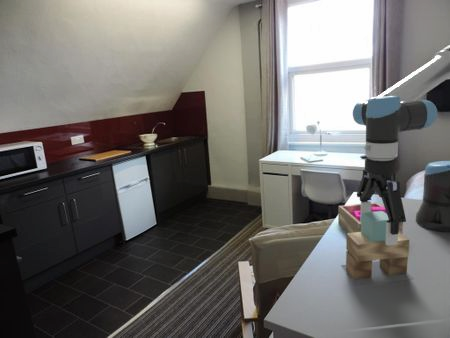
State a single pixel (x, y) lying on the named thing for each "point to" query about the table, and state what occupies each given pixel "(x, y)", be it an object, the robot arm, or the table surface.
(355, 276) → the pillar
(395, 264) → the pillar
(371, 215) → the cube
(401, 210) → the robot arm
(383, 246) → the lintel
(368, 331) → the table surface
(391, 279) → the mat
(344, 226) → the wooden open box
